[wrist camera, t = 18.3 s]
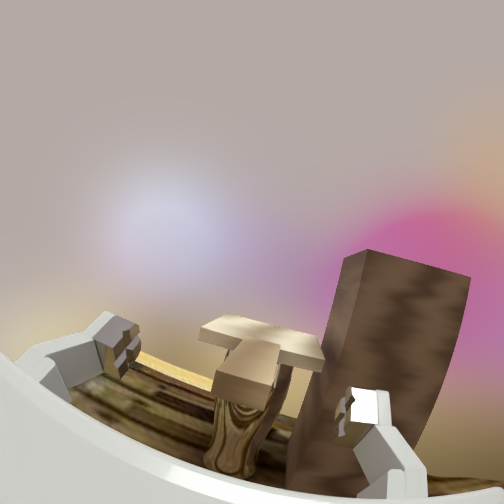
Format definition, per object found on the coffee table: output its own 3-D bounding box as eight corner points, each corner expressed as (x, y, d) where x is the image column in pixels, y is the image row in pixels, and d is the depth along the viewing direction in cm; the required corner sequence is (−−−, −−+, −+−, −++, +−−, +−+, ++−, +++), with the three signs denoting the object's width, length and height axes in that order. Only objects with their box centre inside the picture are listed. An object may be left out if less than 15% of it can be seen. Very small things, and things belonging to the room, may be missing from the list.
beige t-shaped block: (313, 345, 34) (317, 332, 34) (335, 426, 14) (344, 401, 14) (225, 322, 36) (229, 309, 36) (144, 371, 15) (149, 346, 15)
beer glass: (225, 490, 22) (264, 363, 23) (186, 453, 27) (213, 335, 28) (271, 472, 27) (312, 358, 28) (232, 443, 32) (262, 337, 33)
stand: (361, 455, 32) (422, 278, 34) (379, 507, 21) (471, 277, 22) (287, 444, 34) (343, 258, 35) (283, 498, 22) (367, 249, 24)
